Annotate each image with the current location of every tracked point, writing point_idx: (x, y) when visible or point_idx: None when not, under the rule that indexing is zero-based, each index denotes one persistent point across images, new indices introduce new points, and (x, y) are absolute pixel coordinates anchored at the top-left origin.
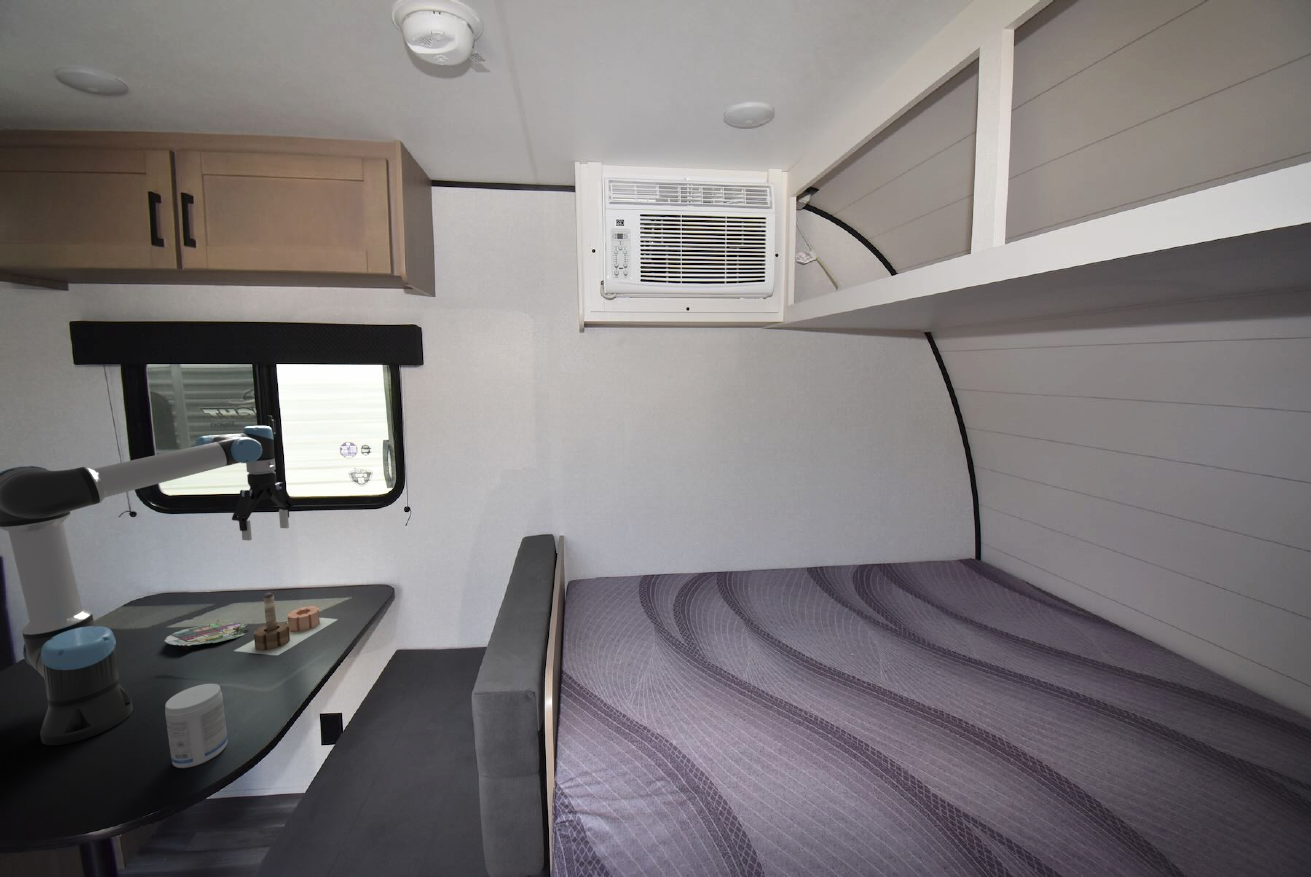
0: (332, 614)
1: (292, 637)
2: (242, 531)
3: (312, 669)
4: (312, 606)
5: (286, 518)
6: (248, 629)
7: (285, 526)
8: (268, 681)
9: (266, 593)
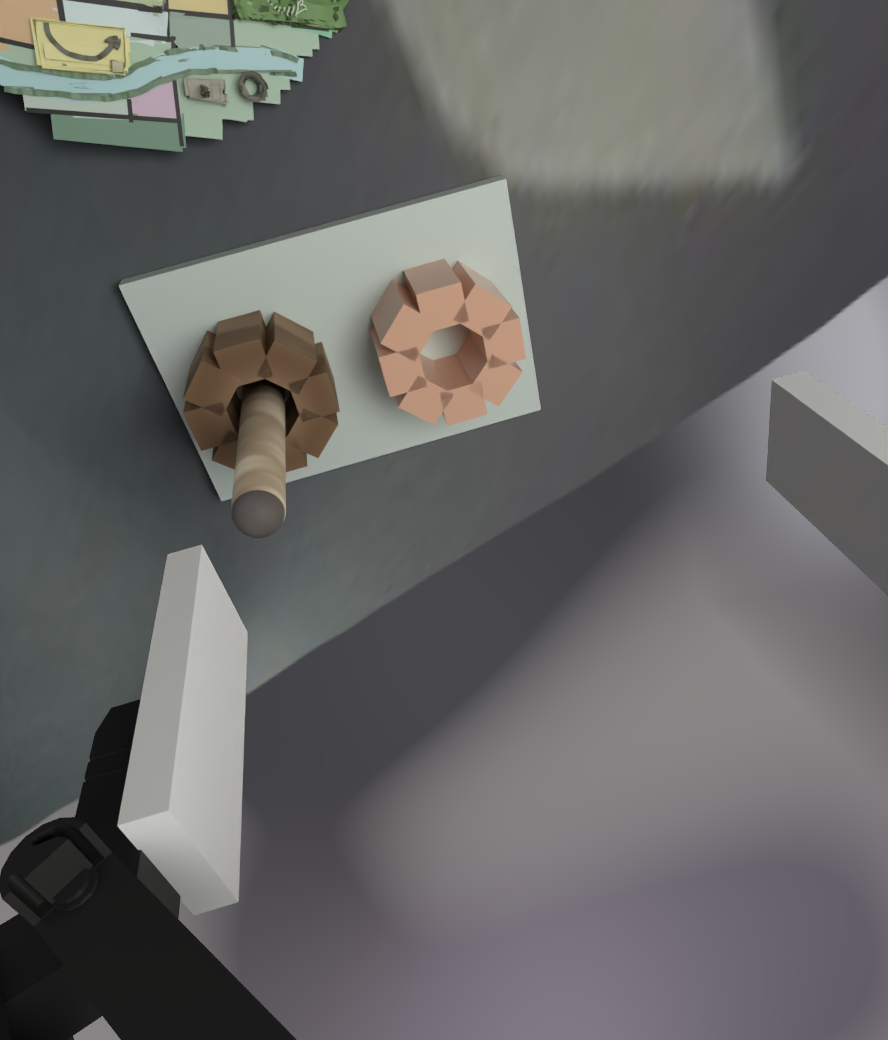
0: (592, 292)
1: (339, 400)
2: (158, 657)
3: (255, 645)
4: (517, 334)
5: (866, 568)
6: (261, 99)
7: (783, 475)
8: (132, 607)
9: (248, 523)
